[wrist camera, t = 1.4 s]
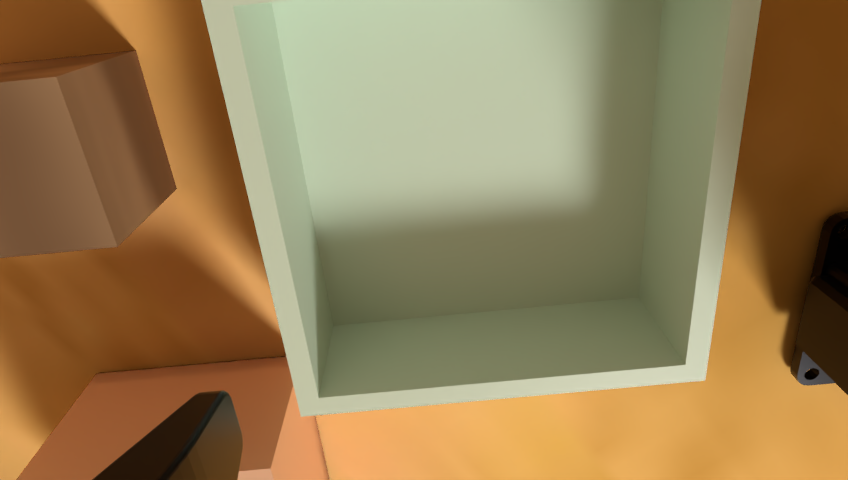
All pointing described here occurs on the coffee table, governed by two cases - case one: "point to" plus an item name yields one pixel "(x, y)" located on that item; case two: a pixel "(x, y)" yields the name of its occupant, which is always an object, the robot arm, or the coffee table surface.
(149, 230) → the coffee table surface
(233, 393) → the open square box
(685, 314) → the bin
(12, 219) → the walnut block
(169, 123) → the coffee table surface
